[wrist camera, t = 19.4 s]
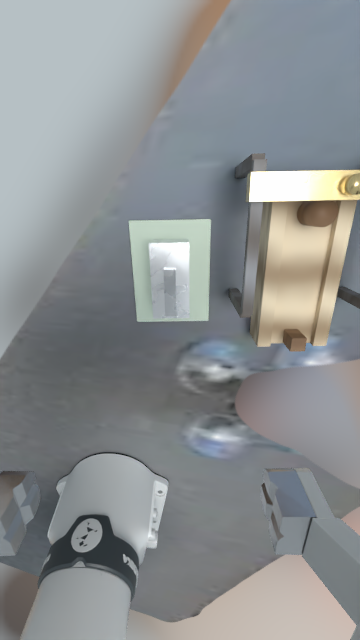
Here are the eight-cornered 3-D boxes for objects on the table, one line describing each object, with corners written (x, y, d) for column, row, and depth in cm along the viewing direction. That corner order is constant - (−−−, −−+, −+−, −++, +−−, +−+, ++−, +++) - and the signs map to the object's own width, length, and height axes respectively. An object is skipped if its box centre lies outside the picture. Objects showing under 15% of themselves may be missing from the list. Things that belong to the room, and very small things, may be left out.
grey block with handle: (188, 306, 33) (189, 320, 29) (156, 306, 33) (152, 320, 29) (188, 238, 30) (189, 243, 26) (152, 239, 30) (147, 243, 26)
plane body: (334, 331, 35) (374, 363, 28) (226, 333, 35) (238, 364, 28) (371, 164, 27) (438, 148, 20) (235, 167, 28) (254, 151, 20)
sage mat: (207, 319, 34) (208, 320, 34) (137, 320, 34) (137, 321, 34) (210, 219, 30) (210, 219, 29) (129, 220, 30) (128, 220, 29)
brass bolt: (432, 198, 21) (459, 197, 19) (245, 202, 22) (252, 201, 19) (441, 170, 21) (470, 165, 19) (247, 174, 21) (254, 170, 19)
